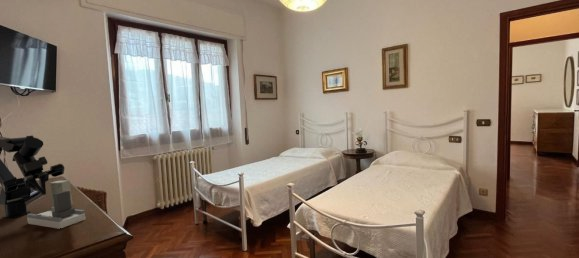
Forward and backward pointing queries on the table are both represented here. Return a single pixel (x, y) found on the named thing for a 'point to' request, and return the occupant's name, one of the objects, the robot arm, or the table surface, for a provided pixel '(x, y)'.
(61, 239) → the table surface
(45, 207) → the table surface
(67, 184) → the skincare box
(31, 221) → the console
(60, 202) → the slider
